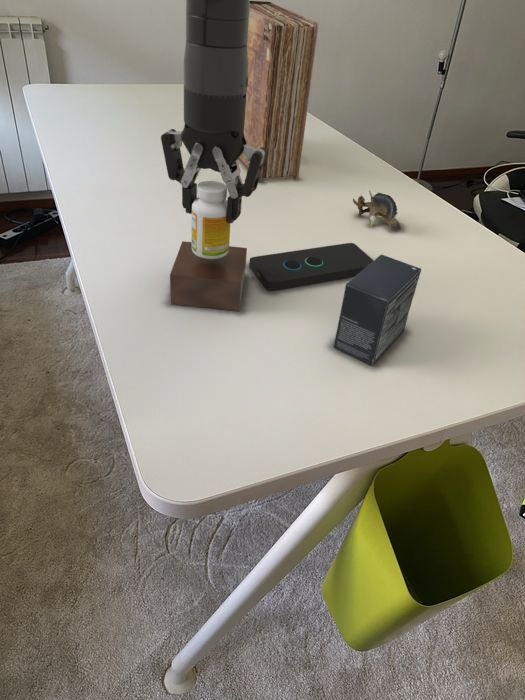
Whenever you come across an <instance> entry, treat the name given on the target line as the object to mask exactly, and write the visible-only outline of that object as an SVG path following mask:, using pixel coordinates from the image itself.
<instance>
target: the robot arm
mask: <svg viewBox="0 0 525 700" xmlns="http://www.w3.org/2000/svg"><path fill="white" fill-rule="evenodd" d="M250 1H251V0H185V47H184V55H183V122H184V125H183V129H182V130H181V131H177V130H176V129H175V128H171V129H169V130H167V131H166V132H164V133H163V134H161V135H160V141H161V145H162V151H163V156H164V161H165V166H166V171H167V176H168V178H169V180H171V181H176V182H178V183H179V184H180V185H181V198H182V199H181V205H182V208H183V209H185V213H186V214H190V215H192V203H193V201H194V200H195V199H196V198H198V196H197V185H198V183H196V182H195V181H196V180H197V178H198V176H199V173H200V171H201V170H202V169H203V170H212V171H214V172H217V173H219V174H220V176H221V180H222V182H223V183H224V184H225V185H226V186H227V193H228V194H229V196H227V197H226V200H227V219H226V221H227V223H230V224H233V223H234V222H235V221H237V220H238V218H239V217H240V216H241V213H242V202H243V197H245V198H249V197H250V196H251V195H252V194H253V193H254V192H255V191H256V190H257V189H258V185H259V183H260V182H259V178H260V175H261V172H262V168H263V165H264V161H265V158H266V154H267V151H266V149H265V148H263V147H260V148H259V149H257V148H255V147H253V146H250V145H248V144H247V142H246V140H245V137H244V124H245V108H246V93H247V86H248V56H247V40H248V24H249V10H250ZM182 146H184V147H185V149H186V150H187V152H188V154H189V155H190V156H189V158H188V160H187V162H186V165H185V167H184V163H183V156H182V150H181V147H182ZM242 153H243V154H245V156H246V163H247V164H248V165H249V168H248V169H247V173H246V176H245V179H244V183H243V179H242V177H241V168H240V164H239V161H238V160H239V157H240V156H241V154H242Z"/></svg>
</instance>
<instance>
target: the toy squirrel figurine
mask: <svg viewBox="0 0 525 700" xmlns="http://www.w3.org/2000/svg"><path fill="white" fill-rule="evenodd" d="M368 194H369V196H370V201H367V202H365V201H366V199H365V197H364V196H363V195H362V194H360V196H358V198H357V200H356V199H355V198H352V202H353V204H354V205H355V206H356V207H357V209H358V216H359V217H362V215H363V214H366V213H369V219H370V221H369V222H370V224H369V227H372V226H373V225H374V224H375V222H376V218H377V217H380V218H382V219H384V221H385V222H386V223H387V224H388V226H389V227H390V229H391V230H392V231H394V232H395V231H396V232H400V231H401V228H402V227H401V225H400V223H399V220H398V219H397V218H396V217H397V215H398V206H397V202H396V201H395V200H394V198H393V197H392V196H391V195H390V194H386V193H382V192H378V193H375V194H372V192H371V190H368ZM363 208H364V209H363Z"/></svg>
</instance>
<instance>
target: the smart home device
mask: <svg viewBox="0 0 525 700" xmlns="http://www.w3.org/2000/svg"><path fill="white" fill-rule="evenodd" d="M374 260H375V259H372V257H370V256H369V255H368V254H367V252H365V251H363V249H362V248H360V247H359V246H358V245H357V244H356V243H354V242H346V243H339V244H332V245H324V246H319V247H312V248H306V249H305V248H304V249H298V250H292V251H291V250H289V251H285V252H276V253H272V254H271V253H270V254H264V255H257V256H252V257H250V258H249V262H248V263H249V265H248V268H249V269H250V270H251V272H252V273H253V274H254V275H255V277H256V278H257V280H258V281H259V282H260V283H261V284H262V286H263V287H264V288H265V290H266V291H267V292H271V291H272V292H274V291H280V290H286V289H291V288H297V287H303V286H309V285H314V284H315V285H316V284H320V283H321V284H322V283H327V282H331V281H337V280H343V279H349V278H354V277H355V276H356V275H357V274H359V273H360V272H361V271H362V270H363V269H365V268H366V267H367V266H368V265H369V264H370V263H372V262H373V261H374Z"/></svg>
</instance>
